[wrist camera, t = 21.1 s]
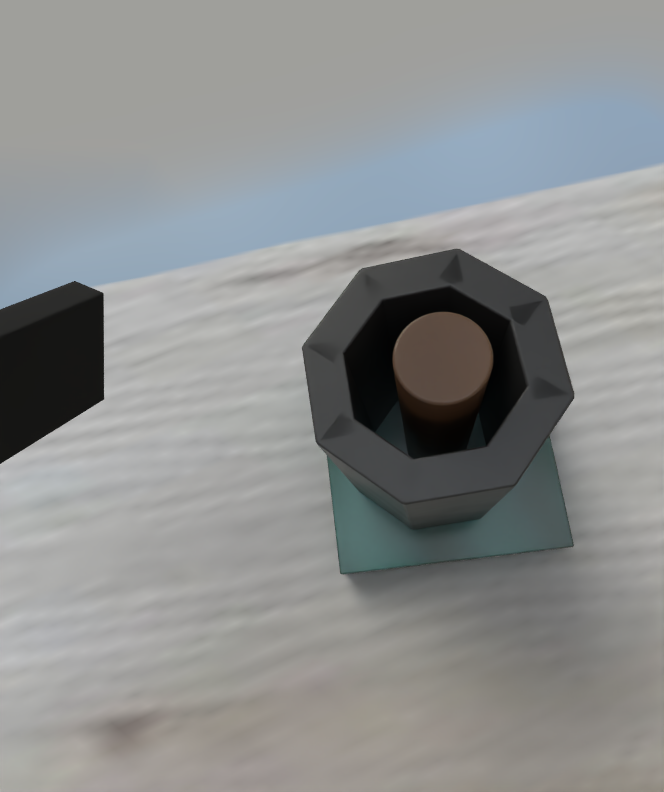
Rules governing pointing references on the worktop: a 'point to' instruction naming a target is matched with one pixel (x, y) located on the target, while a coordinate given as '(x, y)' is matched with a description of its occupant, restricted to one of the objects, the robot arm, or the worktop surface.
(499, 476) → the grey octagonal sleeve
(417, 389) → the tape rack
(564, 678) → the worktop surface
